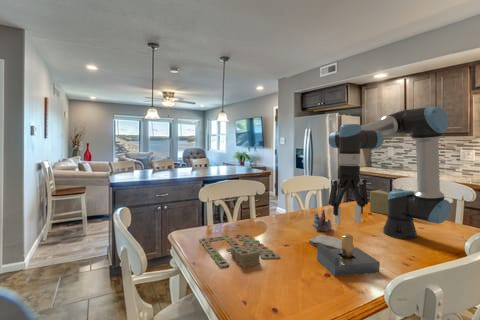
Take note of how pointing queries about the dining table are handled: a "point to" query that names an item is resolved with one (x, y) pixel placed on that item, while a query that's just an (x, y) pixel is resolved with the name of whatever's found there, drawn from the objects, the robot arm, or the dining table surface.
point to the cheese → (379, 202)
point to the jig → (346, 261)
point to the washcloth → (326, 242)
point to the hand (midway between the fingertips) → (347, 222)
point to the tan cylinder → (347, 246)
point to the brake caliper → (321, 222)
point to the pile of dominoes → (240, 250)
